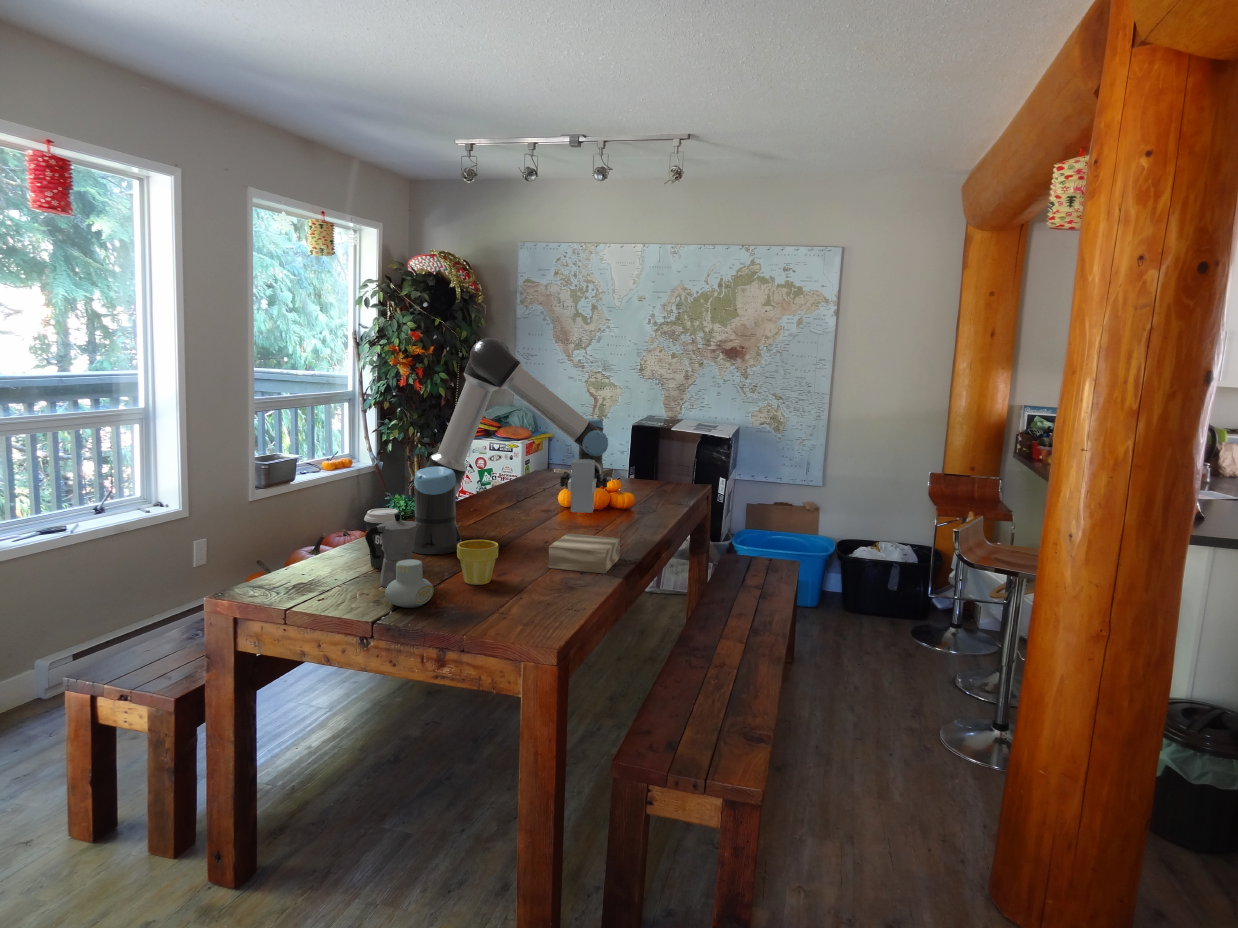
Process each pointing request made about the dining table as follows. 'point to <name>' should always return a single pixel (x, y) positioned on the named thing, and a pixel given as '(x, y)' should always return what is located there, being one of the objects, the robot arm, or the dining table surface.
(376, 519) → the coffee cup
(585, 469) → the slate block
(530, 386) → the robot arm
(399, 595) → the air freshener
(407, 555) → the coffeepot
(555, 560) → the birch block
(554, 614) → the dining table surface
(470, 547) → the plant pot
